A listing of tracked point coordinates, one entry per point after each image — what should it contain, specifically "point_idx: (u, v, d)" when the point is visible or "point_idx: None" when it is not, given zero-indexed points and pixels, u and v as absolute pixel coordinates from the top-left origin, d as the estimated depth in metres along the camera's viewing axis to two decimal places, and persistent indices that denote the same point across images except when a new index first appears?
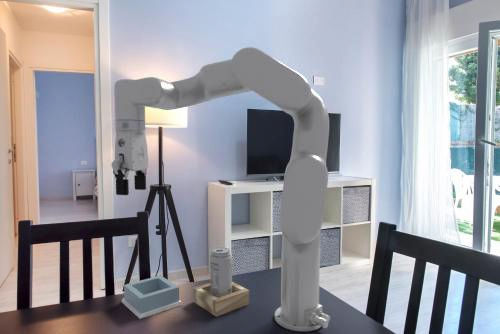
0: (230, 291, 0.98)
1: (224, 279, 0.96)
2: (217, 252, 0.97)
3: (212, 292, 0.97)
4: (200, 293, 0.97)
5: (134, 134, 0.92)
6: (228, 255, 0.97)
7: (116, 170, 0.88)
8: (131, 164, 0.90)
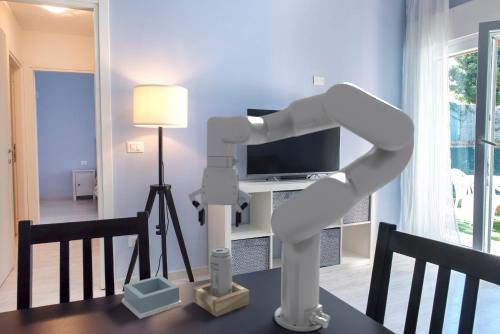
0: (230, 291, 0.98)
1: (224, 279, 0.96)
2: (217, 252, 0.97)
3: (212, 292, 0.97)
4: (200, 293, 0.97)
5: None
6: (228, 255, 0.97)
7: None
8: None
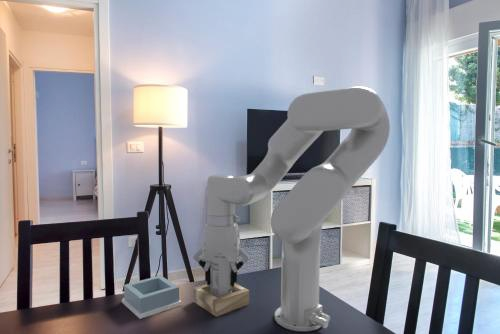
0: (230, 291, 0.98)
1: (224, 279, 0.96)
2: None
3: (212, 292, 0.97)
4: (200, 293, 0.97)
5: None
6: None
7: (244, 262, 0.99)
8: None
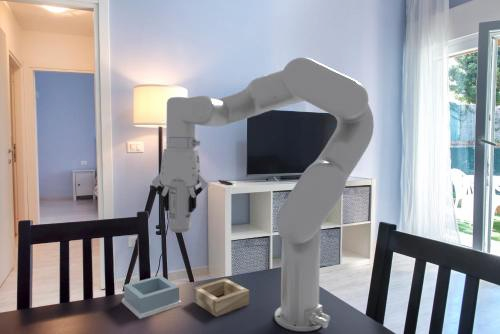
0: (188, 217, 0.96)
1: (182, 203, 0.95)
2: None
3: (170, 217, 0.96)
4: (200, 293, 0.97)
5: None
6: None
7: (204, 188, 0.97)
8: None
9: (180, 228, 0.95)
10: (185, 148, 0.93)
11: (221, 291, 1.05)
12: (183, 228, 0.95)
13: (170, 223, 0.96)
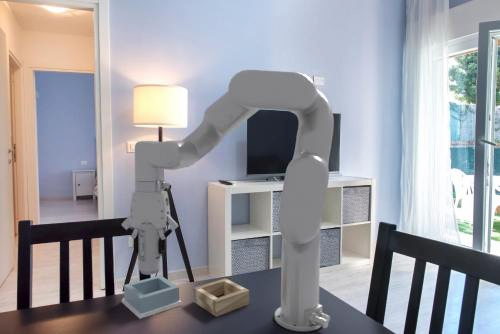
0: (158, 259, 0.97)
1: (151, 246, 0.95)
2: None
3: (139, 259, 0.96)
4: (200, 293, 0.97)
5: None
6: None
7: (173, 230, 0.97)
8: None
9: (150, 270, 0.96)
10: (153, 192, 0.93)
11: (221, 291, 1.05)
12: (153, 270, 0.96)
13: (140, 265, 0.96)
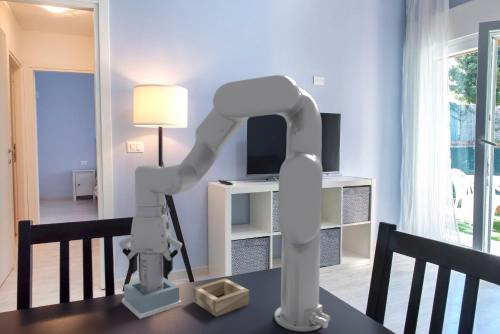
0: (160, 288, 0.97)
1: (153, 276, 0.96)
2: None
3: (141, 289, 0.97)
4: (200, 293, 0.97)
5: None
6: None
7: None
8: None
9: None
10: (154, 217, 0.94)
11: (221, 291, 1.05)
12: None
13: None
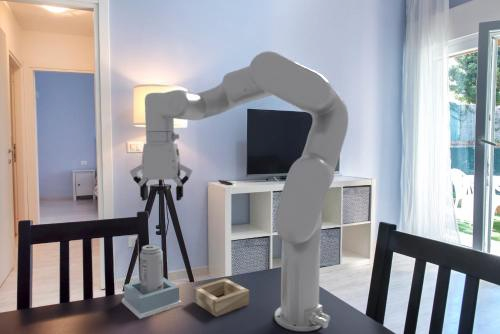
0: (160, 288, 0.97)
1: (153, 276, 0.96)
2: (146, 249, 0.96)
3: (141, 289, 0.97)
4: (200, 293, 0.97)
5: None
6: (157, 252, 0.96)
7: (189, 176, 1.00)
8: None
9: None
10: (164, 142, 0.96)
11: (221, 291, 1.05)
12: None
13: None
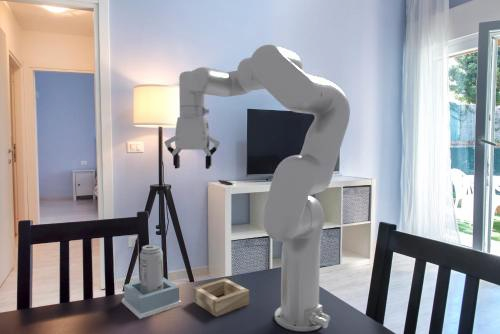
0: (160, 288, 0.97)
1: (153, 276, 0.96)
2: (146, 249, 0.96)
3: (141, 289, 0.97)
4: (200, 293, 0.97)
5: None
6: (157, 252, 0.96)
7: (217, 147, 1.11)
8: None
9: None
10: (196, 115, 1.07)
11: (221, 291, 1.05)
12: None
13: None
